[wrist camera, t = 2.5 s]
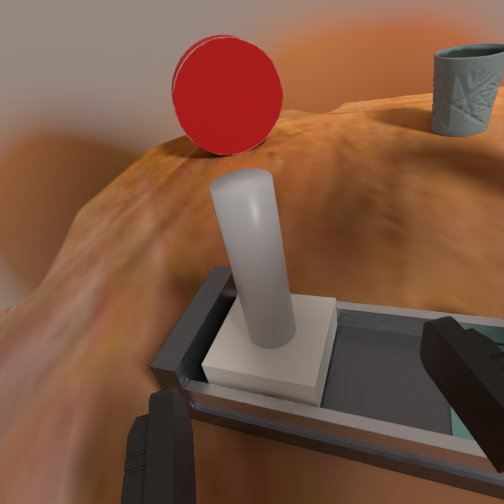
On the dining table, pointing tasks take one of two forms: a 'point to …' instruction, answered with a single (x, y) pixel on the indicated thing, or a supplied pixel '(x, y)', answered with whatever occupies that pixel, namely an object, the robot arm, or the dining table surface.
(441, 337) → the robot arm
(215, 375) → the carriage
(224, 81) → the toy clock
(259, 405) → the gray tray
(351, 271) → the dining table surface
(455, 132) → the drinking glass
